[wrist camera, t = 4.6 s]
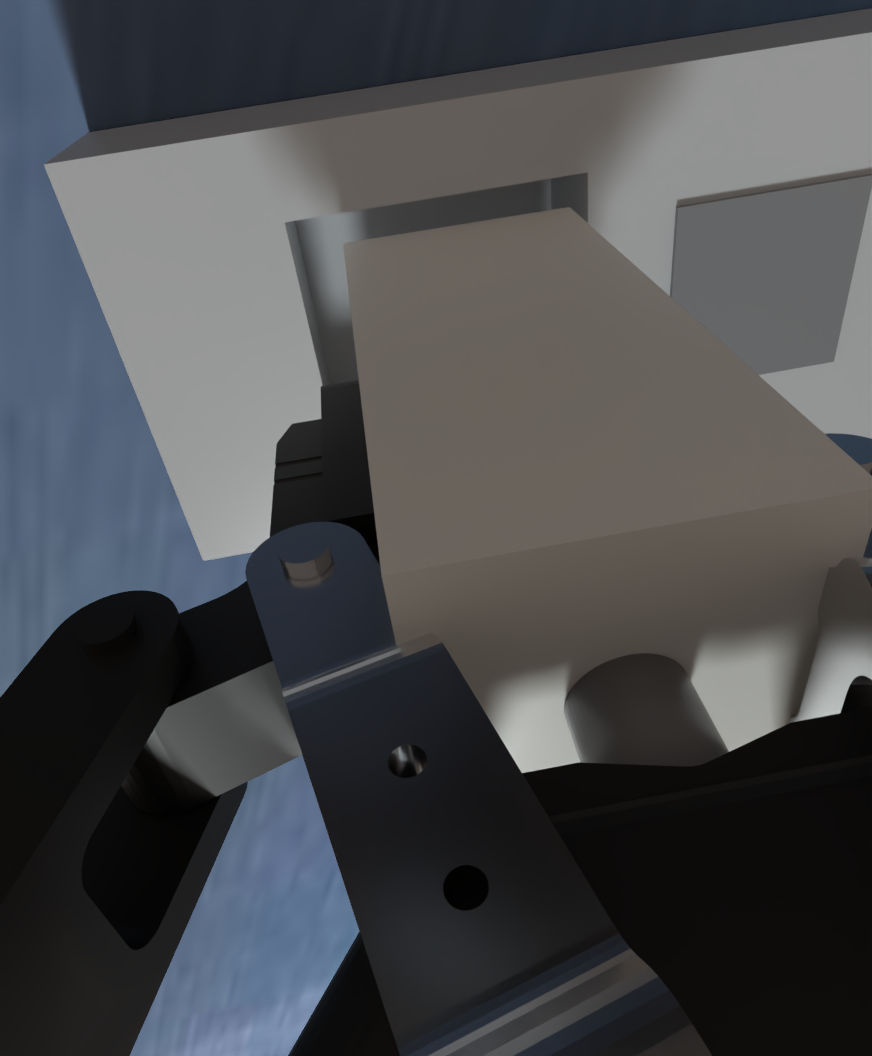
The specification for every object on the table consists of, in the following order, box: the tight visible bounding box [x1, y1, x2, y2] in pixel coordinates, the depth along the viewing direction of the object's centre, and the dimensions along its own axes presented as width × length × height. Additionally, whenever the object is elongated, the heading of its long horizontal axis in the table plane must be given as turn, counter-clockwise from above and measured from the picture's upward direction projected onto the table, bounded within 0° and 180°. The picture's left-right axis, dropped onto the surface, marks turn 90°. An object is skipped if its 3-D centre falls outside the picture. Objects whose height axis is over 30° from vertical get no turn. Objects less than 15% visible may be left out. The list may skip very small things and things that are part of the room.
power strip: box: [44, 8, 872, 561], centre depth 15 cm, size 22×8×4 cm, turn 97°
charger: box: [343, 207, 872, 773], centre depth 10 cm, size 4×4×11 cm
